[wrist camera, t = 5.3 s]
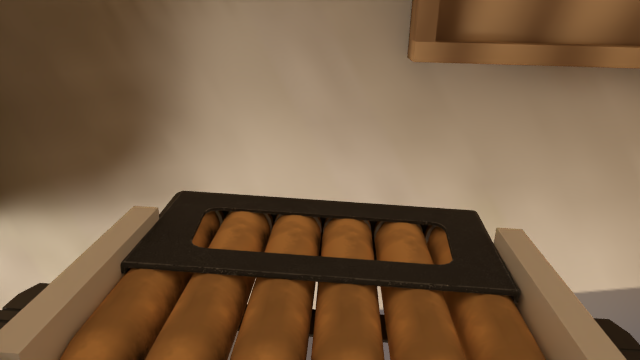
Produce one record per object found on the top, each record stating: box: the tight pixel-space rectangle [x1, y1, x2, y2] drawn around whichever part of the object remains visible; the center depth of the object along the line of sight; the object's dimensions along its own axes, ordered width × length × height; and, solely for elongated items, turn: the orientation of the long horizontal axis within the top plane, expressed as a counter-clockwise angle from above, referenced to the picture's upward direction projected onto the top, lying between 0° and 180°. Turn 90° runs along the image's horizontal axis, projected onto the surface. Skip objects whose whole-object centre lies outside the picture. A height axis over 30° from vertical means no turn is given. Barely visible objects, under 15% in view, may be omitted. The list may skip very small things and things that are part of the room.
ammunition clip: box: [60, 191, 546, 360], centre depth 11 cm, size 11×2×12 cm, turn 87°
